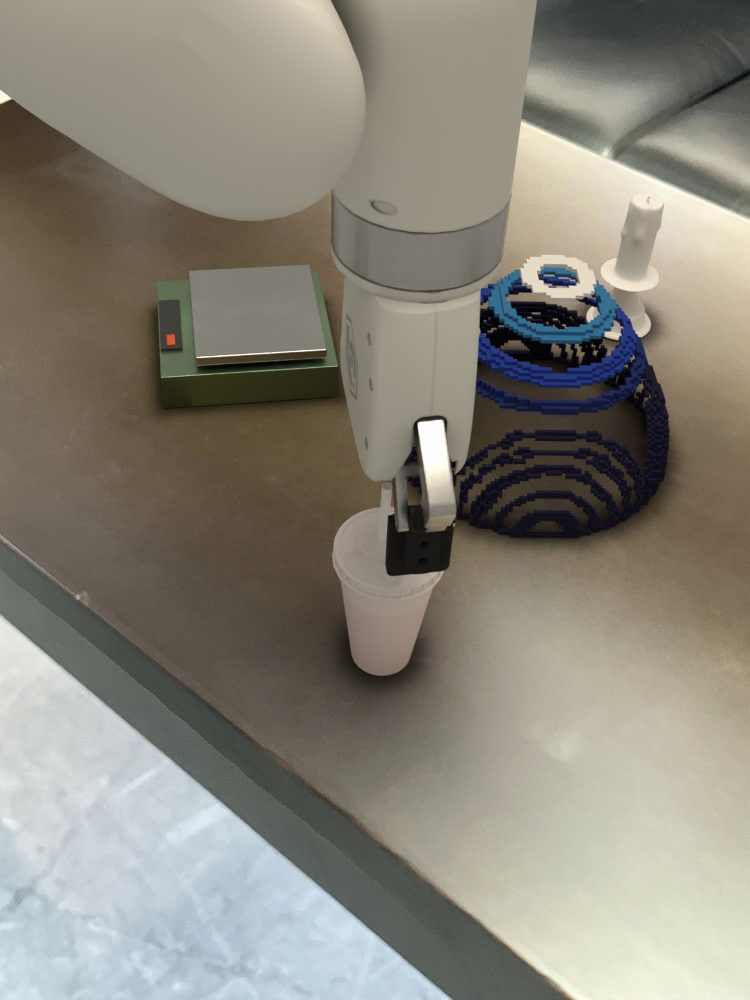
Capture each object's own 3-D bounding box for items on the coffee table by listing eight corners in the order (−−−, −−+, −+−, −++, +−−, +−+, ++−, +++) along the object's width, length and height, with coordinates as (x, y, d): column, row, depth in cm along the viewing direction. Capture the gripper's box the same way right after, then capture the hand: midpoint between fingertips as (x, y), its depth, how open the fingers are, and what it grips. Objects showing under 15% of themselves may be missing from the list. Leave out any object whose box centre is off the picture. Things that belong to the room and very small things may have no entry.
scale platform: (196, 366, 84) (195, 357, 83) (189, 278, 91) (188, 270, 91) (326, 358, 85) (327, 349, 84) (309, 272, 93) (309, 264, 92)
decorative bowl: (636, 354, 93) (678, 196, 82) (691, 538, 79) (750, 376, 68) (388, 350, 91) (399, 189, 81) (400, 536, 78) (415, 370, 67)
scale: (164, 408, 85) (160, 372, 83) (159, 311, 94) (156, 276, 91) (337, 396, 87) (338, 361, 85) (318, 302, 95) (318, 267, 93)
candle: (649, 346, 93) (684, 217, 85) (583, 336, 94) (612, 207, 85) (651, 308, 97) (685, 181, 88) (588, 298, 98) (616, 171, 89)
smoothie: (381, 594, 74) (394, 434, 64) (454, 653, 71) (479, 495, 61) (307, 648, 71) (308, 488, 61) (380, 713, 68) (394, 556, 58)
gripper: (308, 127, 54) (311, 400, 67) (361, 357, 43) (353, 637, 55) (462, 119, 55) (437, 390, 68) (557, 342, 44) (506, 620, 56)
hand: (400, 500), depth 61 cm, fingers open, 9 cm apart
